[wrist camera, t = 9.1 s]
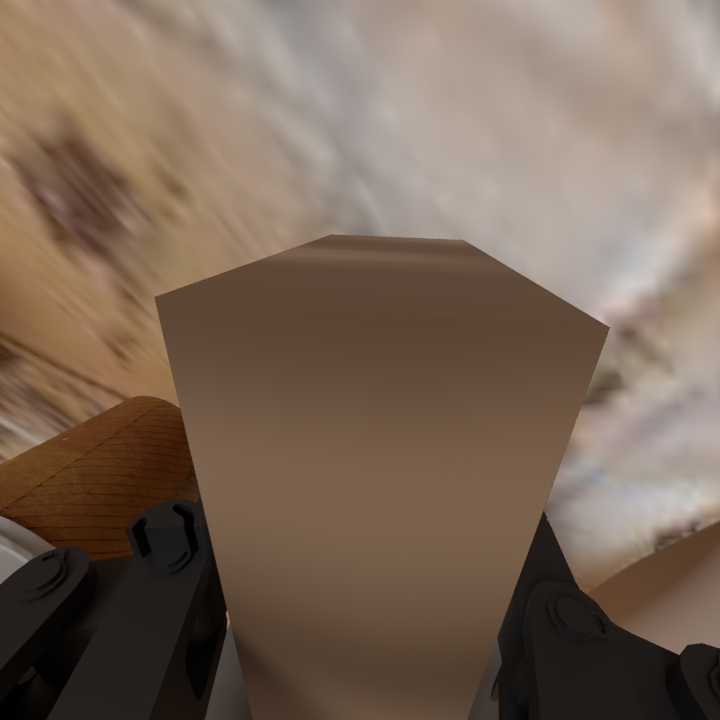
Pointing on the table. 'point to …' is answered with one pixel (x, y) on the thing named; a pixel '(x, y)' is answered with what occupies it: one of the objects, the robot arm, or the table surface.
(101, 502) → the disposable coffee cup
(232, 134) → the table surface
